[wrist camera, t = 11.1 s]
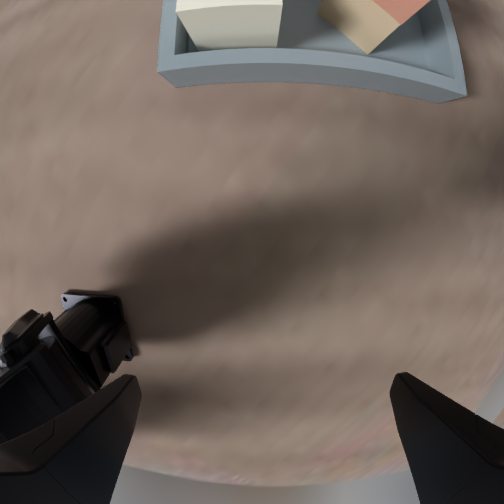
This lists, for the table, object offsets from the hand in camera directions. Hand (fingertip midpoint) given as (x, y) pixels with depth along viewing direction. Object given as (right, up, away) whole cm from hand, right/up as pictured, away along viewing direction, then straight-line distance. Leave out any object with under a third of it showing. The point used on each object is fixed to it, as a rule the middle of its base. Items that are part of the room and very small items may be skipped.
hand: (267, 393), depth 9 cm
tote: (+4, +22, +7) cm, 23 cm away
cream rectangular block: (-1, +22, +6) cm, 23 cm away
